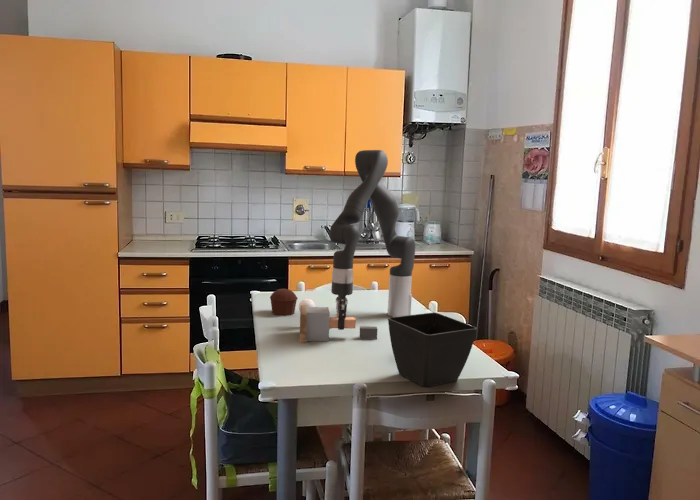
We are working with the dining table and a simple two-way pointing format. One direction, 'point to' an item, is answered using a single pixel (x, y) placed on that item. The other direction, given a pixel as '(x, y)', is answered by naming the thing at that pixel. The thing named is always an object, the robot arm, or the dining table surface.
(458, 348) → the flower pot
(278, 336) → the dining table surface
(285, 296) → the muffin
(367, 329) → the block
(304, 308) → the wooden board
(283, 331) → the dining table surface
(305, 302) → the lightbulb
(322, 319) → the block
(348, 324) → the dowel
